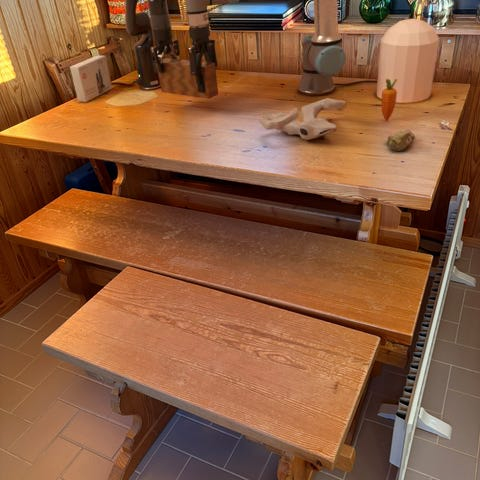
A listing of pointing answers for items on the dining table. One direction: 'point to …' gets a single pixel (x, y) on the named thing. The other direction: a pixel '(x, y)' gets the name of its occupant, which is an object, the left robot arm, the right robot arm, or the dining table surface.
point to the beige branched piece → (305, 120)
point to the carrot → (388, 99)
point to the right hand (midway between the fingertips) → (206, 89)
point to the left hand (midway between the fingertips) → (168, 70)
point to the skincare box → (91, 78)
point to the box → (187, 78)
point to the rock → (400, 140)
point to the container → (408, 60)
